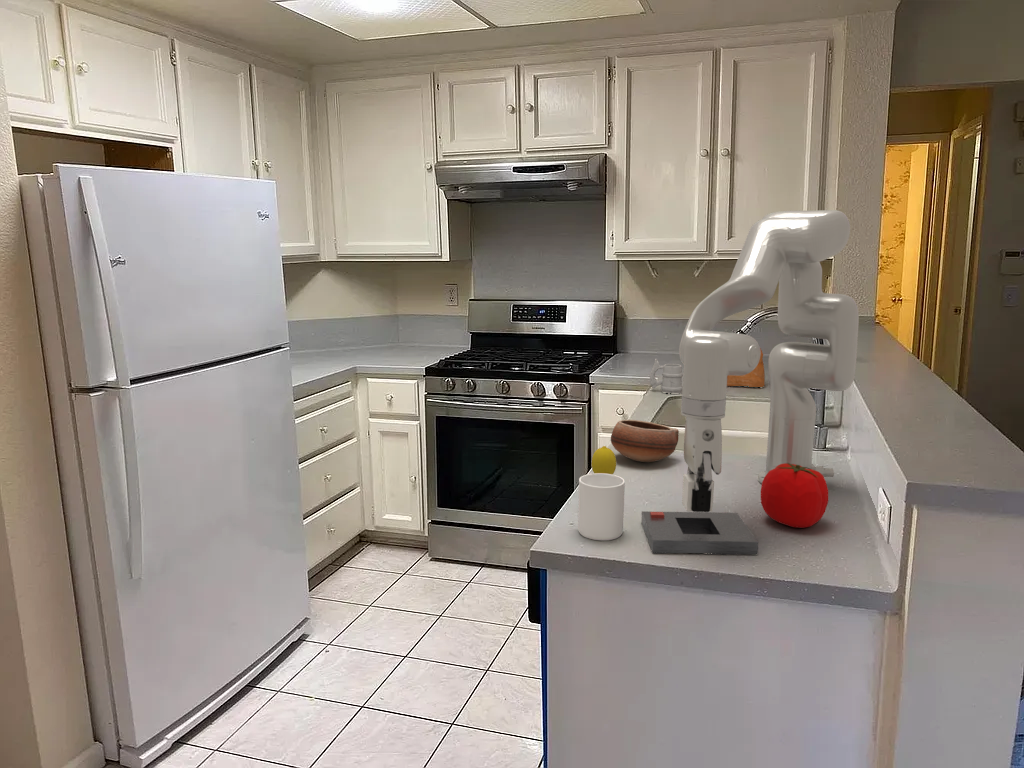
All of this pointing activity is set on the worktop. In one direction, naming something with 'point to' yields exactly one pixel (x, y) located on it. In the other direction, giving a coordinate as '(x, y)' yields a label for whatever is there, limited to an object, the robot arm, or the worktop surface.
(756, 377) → the bread
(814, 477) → the tomato
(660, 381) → the mug
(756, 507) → the worktop surface
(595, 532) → the cup
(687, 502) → the plug
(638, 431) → the bowl
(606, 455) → the lemon
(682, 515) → the socket
